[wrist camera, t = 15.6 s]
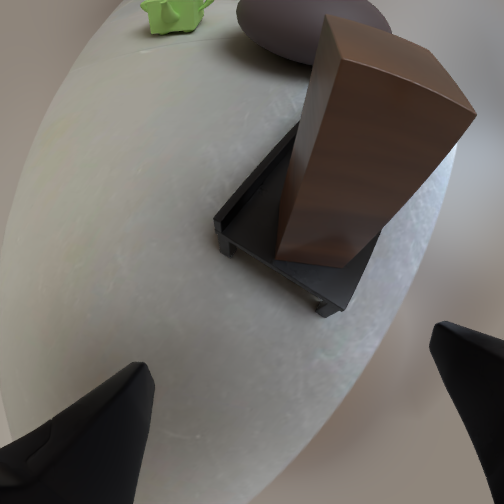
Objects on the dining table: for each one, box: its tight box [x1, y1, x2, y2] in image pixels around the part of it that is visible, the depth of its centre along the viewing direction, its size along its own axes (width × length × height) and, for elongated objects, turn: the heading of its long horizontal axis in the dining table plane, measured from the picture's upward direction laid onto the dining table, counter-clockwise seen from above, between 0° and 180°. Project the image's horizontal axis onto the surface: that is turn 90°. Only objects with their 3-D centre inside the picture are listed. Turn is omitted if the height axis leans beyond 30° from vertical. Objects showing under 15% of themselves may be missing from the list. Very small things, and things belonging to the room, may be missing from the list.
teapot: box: [140, 0, 214, 35], centre depth 35 cm, size 15×13×11 cm
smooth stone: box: [236, 0, 392, 65], centre depth 29 cm, size 25×25×15 cm
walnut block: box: [275, 14, 477, 268], centre depth 12 cm, size 5×5×14 cm
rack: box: [213, 121, 382, 318], centre depth 22 cm, size 10×22×6 cm, turn 147°
